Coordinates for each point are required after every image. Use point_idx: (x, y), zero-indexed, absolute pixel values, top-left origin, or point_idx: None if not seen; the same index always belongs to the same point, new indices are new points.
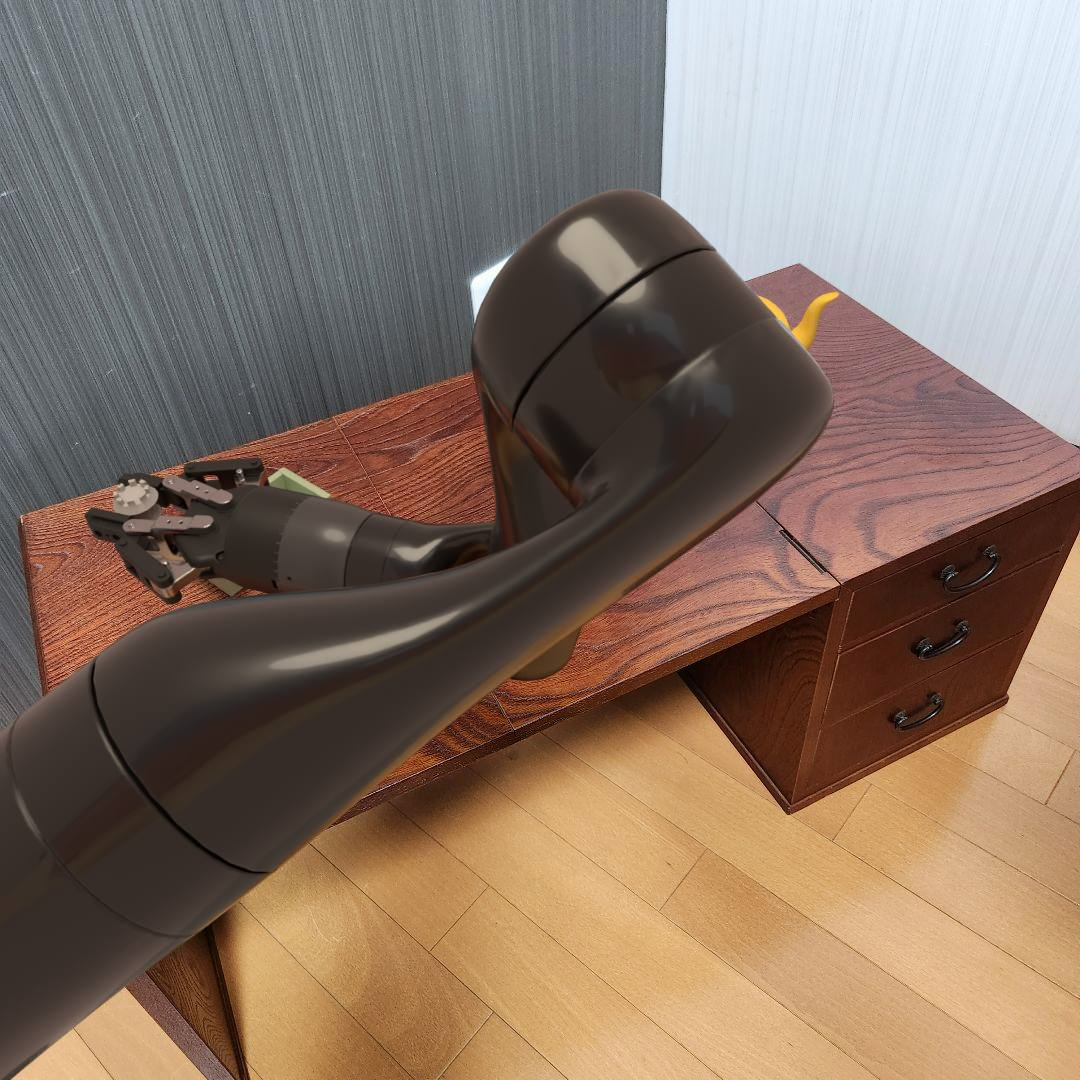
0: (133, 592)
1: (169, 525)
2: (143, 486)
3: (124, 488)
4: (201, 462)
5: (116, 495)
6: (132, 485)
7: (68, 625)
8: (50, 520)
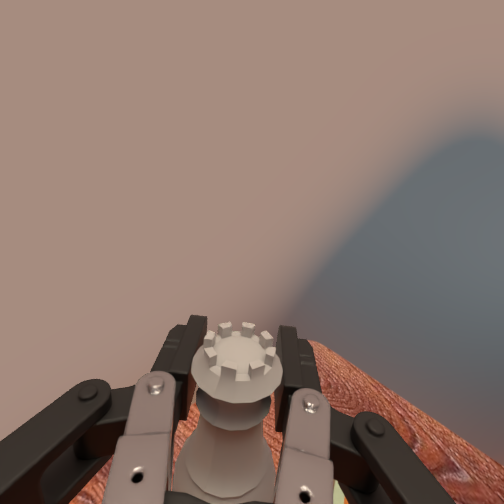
0: (276, 441)
1: (117, 488)
2: (264, 360)
3: (249, 334)
4: (405, 447)
5: (221, 328)
6: (262, 343)
7: None
8: (316, 346)
